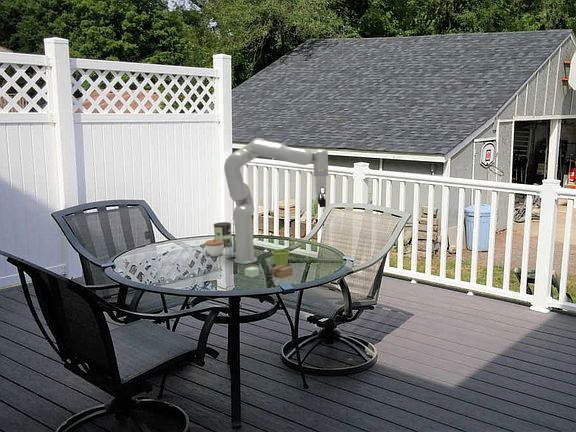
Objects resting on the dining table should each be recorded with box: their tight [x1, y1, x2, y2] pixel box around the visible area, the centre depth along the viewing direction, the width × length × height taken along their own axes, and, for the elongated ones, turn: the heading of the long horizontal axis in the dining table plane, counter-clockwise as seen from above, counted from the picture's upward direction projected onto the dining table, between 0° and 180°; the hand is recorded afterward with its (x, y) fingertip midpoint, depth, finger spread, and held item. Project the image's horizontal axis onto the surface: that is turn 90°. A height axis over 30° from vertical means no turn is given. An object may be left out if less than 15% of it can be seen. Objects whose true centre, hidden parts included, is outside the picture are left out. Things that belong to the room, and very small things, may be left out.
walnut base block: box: [271, 265, 293, 279], centre depth 294 cm, size 7×7×4 cm
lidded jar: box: [204, 238, 224, 257], centre depth 343 cm, size 11×11×9 cm
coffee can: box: [213, 221, 233, 249], centre depth 361 cm, size 10×10×14 cm
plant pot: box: [271, 248, 291, 267], centre depth 312 cm, size 9×9×9 cm
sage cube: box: [244, 266, 260, 278], centre depth 296 cm, size 5×5×5 cm
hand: (321, 205), depth 318 cm, fingers open, 9 cm apart
